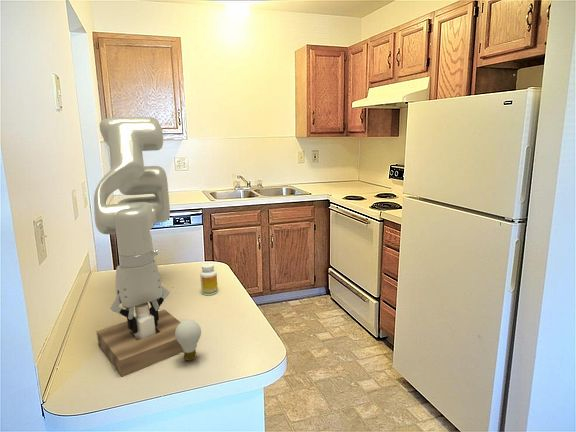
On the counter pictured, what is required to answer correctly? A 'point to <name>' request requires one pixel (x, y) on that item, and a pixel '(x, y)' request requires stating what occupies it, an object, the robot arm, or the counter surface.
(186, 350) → the light bulb
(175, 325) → the socket block
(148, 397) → the counter surface
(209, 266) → the supplement bottle
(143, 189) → the robot arm
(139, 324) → the pepper shaker
